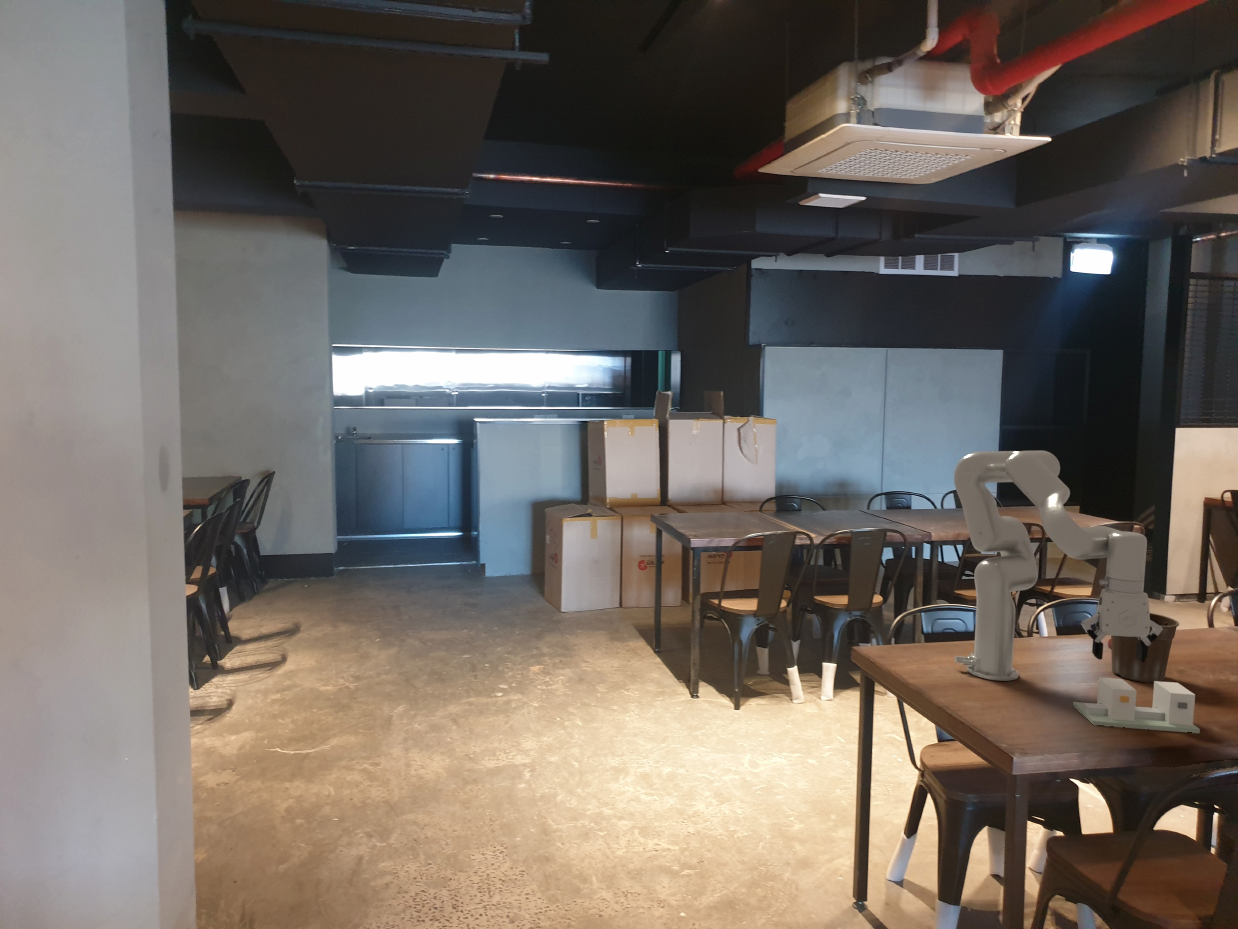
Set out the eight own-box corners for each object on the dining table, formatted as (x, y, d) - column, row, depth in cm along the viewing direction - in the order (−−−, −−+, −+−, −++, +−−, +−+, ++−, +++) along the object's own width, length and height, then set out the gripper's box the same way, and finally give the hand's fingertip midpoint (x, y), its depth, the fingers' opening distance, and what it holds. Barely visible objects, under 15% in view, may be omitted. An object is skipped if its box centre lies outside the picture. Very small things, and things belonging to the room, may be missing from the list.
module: (1111, 720, 189) (1113, 689, 188) (1096, 706, 197) (1098, 677, 197) (1135, 722, 188) (1137, 691, 187) (1119, 708, 196) (1121, 678, 196)
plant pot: (1168, 671, 227) (1173, 614, 226) (1180, 690, 212) (1184, 628, 211) (1100, 663, 234) (1104, 606, 232) (1107, 680, 219) (1111, 620, 218)
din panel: (1092, 725, 188) (1095, 690, 187) (1073, 706, 200) (1075, 673, 199) (1199, 733, 184) (1202, 698, 184) (1173, 713, 196) (1175, 680, 196)
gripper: (1089, 587, 188) (1084, 661, 189) (1173, 591, 185) (1167, 667, 187) (1077, 580, 195) (1072, 651, 197) (1157, 584, 192) (1152, 657, 194)
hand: (1119, 659), depth 192 cm, fingers open, 8 cm apart
